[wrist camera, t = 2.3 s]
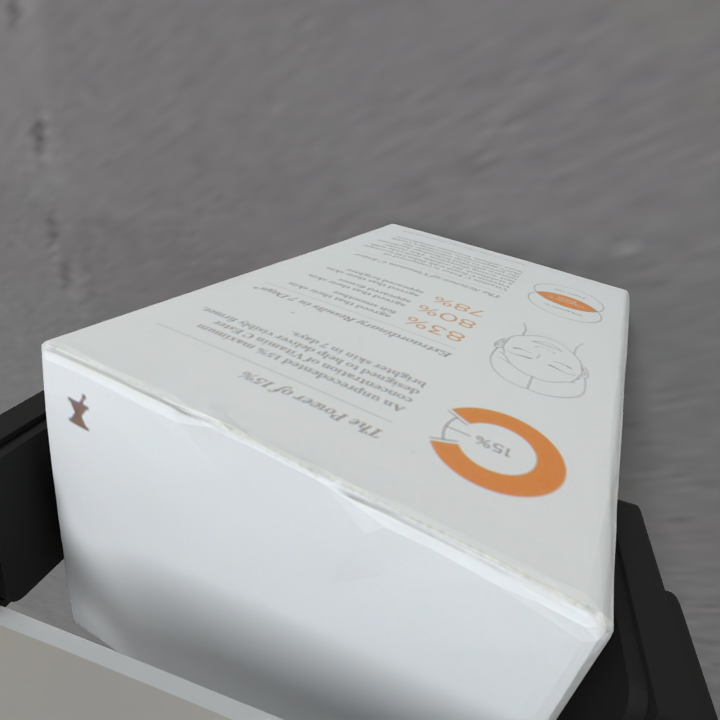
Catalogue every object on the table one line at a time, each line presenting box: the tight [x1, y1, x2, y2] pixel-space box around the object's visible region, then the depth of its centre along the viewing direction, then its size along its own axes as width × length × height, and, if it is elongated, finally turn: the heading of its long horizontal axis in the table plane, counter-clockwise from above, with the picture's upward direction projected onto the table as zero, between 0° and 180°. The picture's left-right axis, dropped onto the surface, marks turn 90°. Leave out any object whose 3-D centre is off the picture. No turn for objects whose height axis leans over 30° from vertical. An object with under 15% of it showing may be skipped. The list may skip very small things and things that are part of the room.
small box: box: [42, 224, 629, 720], centre depth 13 cm, size 8×6×13 cm
